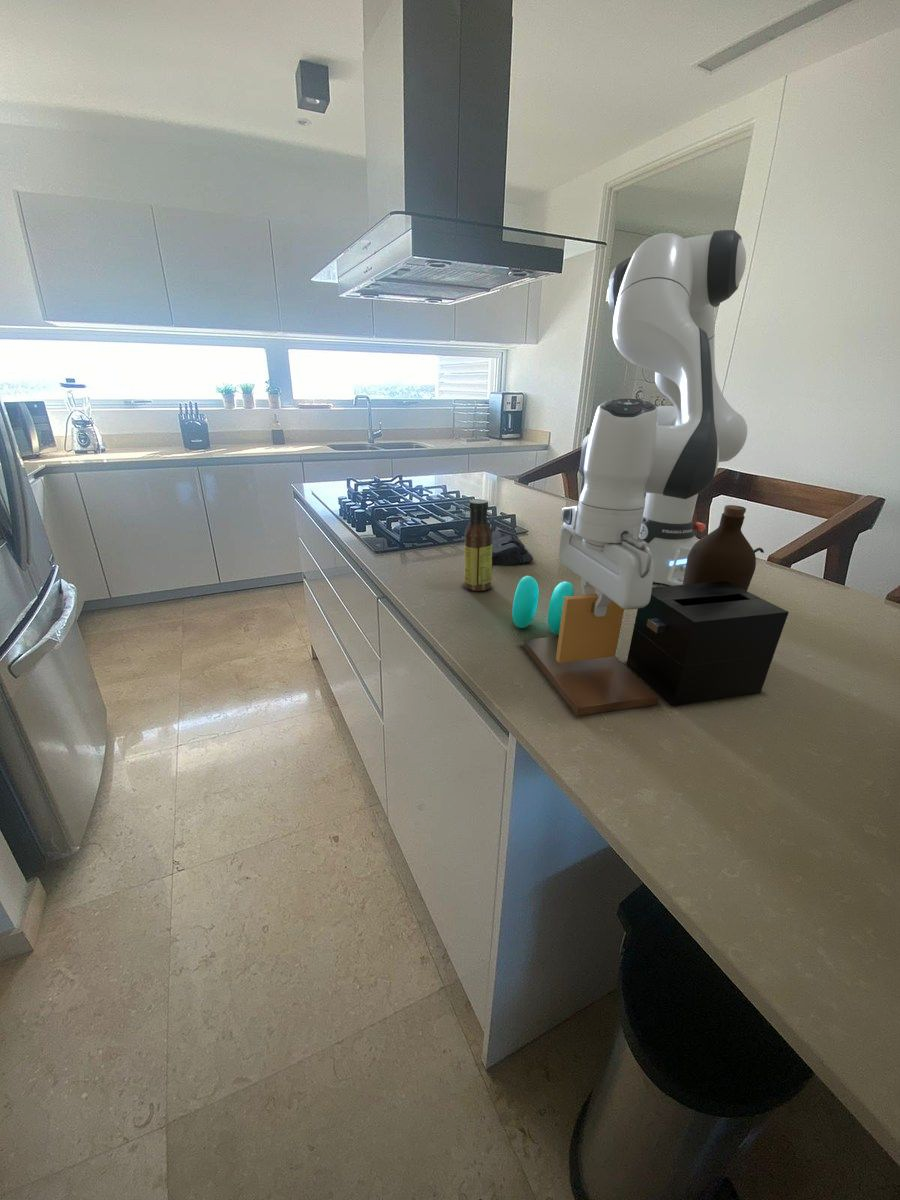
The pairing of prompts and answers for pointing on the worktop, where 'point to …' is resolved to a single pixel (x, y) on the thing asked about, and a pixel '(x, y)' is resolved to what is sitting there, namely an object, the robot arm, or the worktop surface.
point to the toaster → (704, 641)
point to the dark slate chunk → (508, 549)
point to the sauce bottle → (478, 548)
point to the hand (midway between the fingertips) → (593, 610)
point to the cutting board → (590, 680)
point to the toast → (587, 630)
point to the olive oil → (722, 553)
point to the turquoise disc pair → (528, 603)
